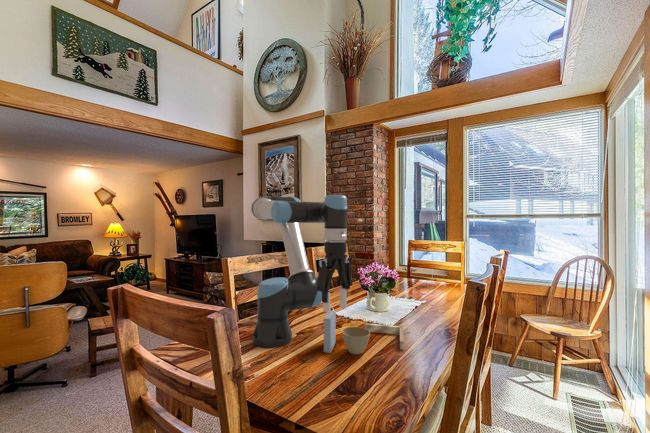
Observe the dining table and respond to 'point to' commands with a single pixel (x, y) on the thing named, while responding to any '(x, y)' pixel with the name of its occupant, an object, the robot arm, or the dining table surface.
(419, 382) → the dining table surface
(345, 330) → the flower pot
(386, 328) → the l-shaped bracket
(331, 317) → the pale blue rectangular prism
